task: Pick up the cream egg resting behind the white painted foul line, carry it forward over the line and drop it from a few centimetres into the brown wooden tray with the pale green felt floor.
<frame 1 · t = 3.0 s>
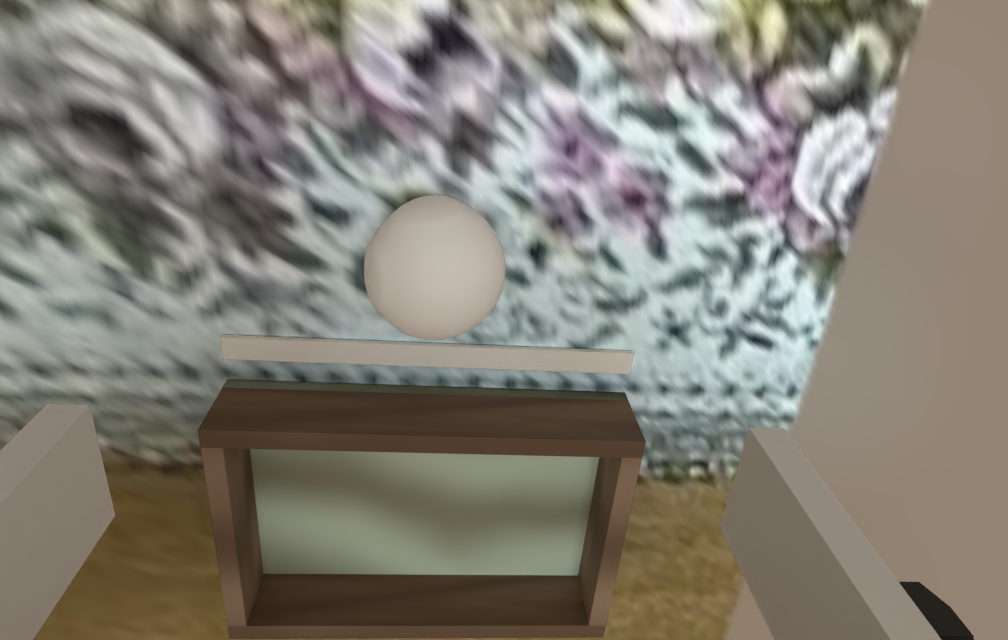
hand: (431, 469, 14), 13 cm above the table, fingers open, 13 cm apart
cream egg: (437, 242, 25), on the table
foul line: (433, 353, 27), on the table
brown wooden tray: (427, 489, 31), on the table
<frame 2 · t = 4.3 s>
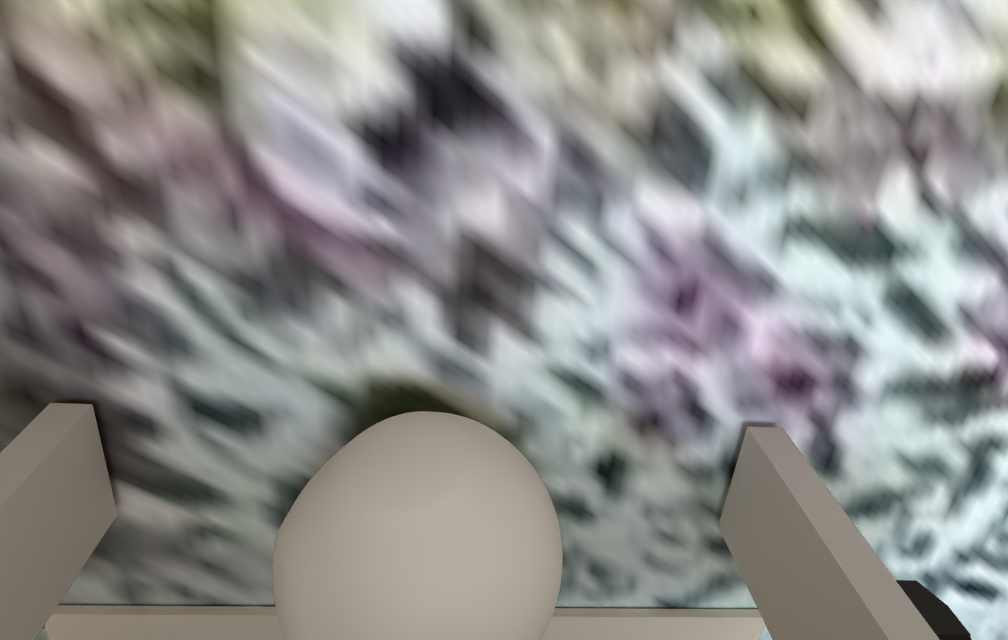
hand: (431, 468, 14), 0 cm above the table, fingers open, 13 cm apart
cream egg: (428, 454, 14), on the table
foul line: (422, 622, 16), on the table
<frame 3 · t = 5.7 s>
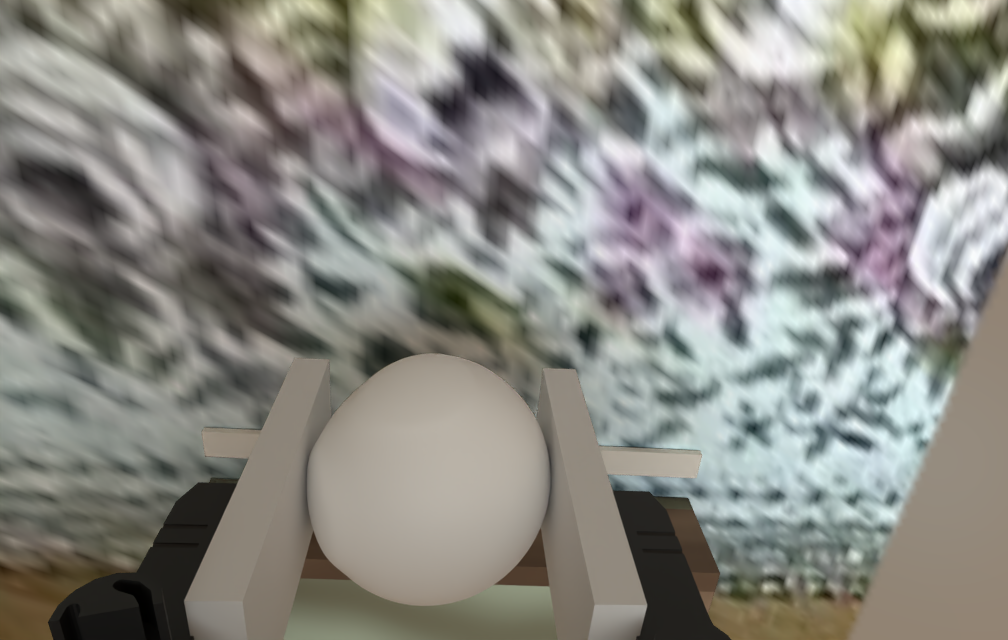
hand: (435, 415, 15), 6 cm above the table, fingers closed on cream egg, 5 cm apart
cream egg: (435, 401, 16), point 5 cm above the table, touching gripper
foul line: (457, 451, 23), on the table
brown wooden tray: (448, 602, 26), on the table
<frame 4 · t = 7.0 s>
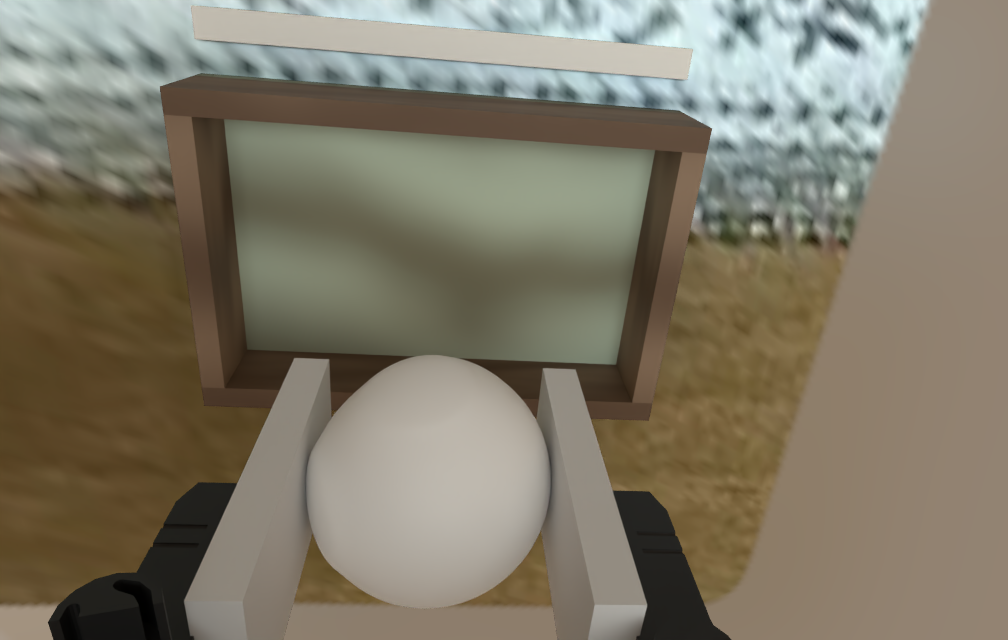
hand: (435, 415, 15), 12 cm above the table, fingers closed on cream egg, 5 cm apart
cream egg: (435, 403, 16), point 11 cm above the table, touching gripper
foul line: (450, 43, 23), on the table
brown wooden tray: (441, 242, 26), on the table
when the fingers open (3 cm above the table, at t = 8.1 s): cream egg drops 2 cm, resting on brown wooden tray.
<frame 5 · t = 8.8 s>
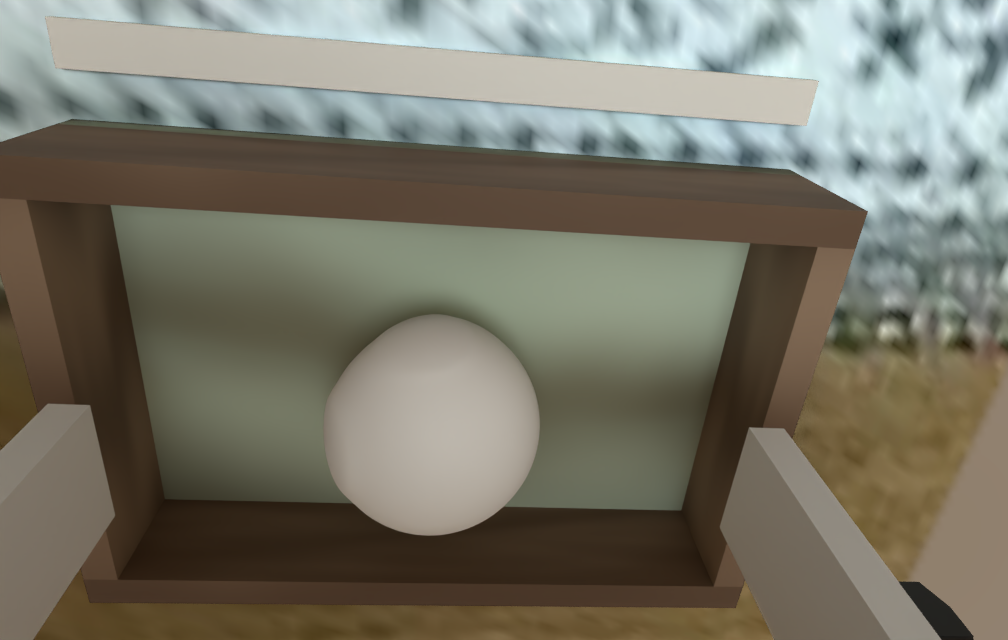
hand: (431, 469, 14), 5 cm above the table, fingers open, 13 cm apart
cream egg: (439, 362, 18), resting on brown wooden tray
foul line: (451, 73, 15), on the table
brown wooden tray: (438, 353, 18), on the table
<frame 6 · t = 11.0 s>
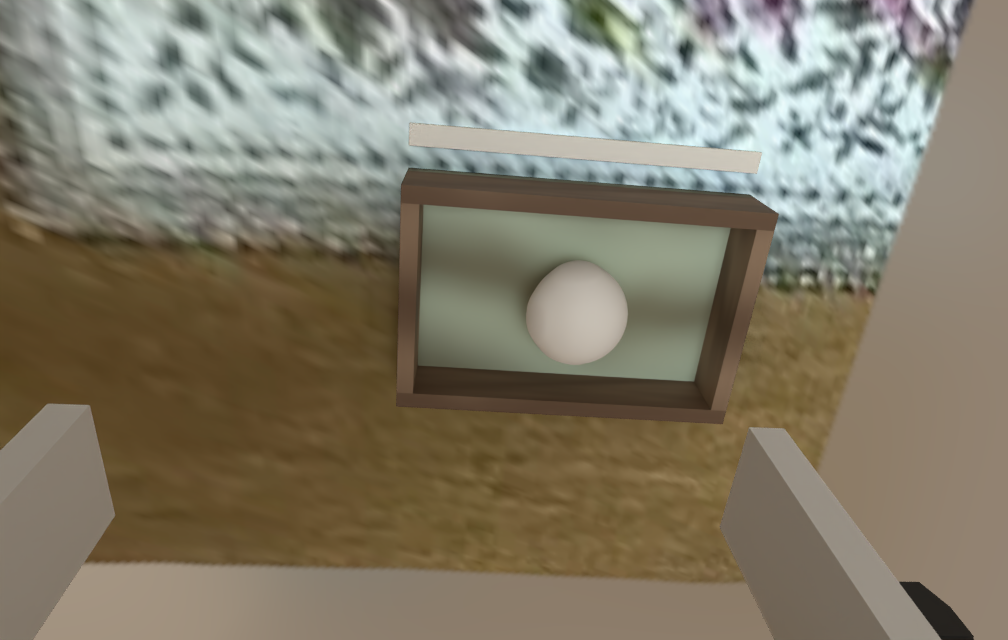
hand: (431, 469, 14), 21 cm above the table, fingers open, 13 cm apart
cream egg: (569, 291, 34), resting on brown wooden tray
foul line: (586, 148, 31), on the table
brown wooden tray: (567, 287, 34), on the table
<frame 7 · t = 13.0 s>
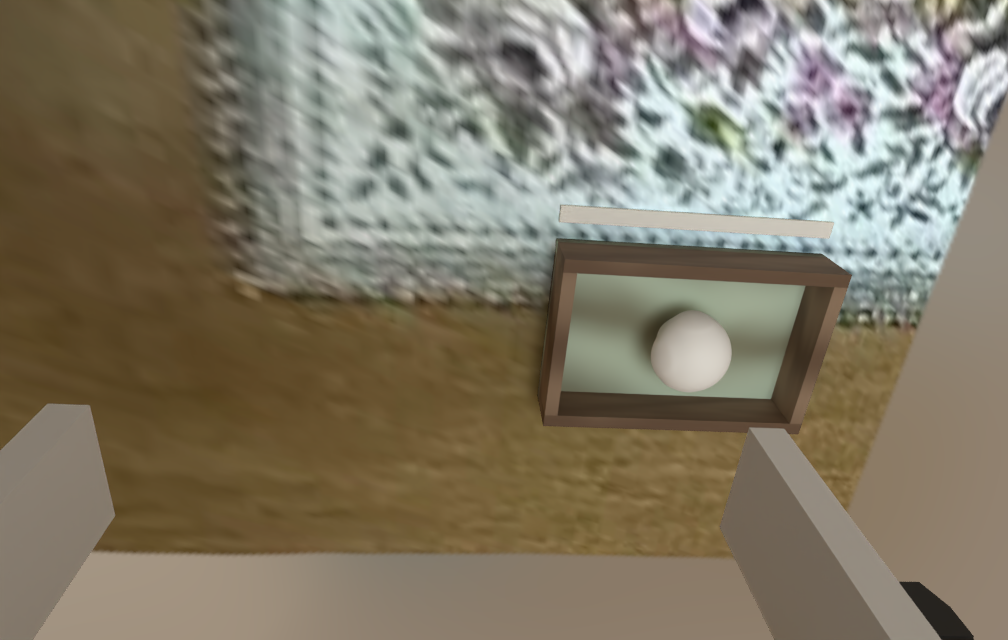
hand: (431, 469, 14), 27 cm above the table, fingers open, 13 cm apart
cream egg: (676, 330, 43), resting on brown wooden tray
foul line: (697, 221, 40), on the table
brown wooden tray: (674, 327, 43), on the table
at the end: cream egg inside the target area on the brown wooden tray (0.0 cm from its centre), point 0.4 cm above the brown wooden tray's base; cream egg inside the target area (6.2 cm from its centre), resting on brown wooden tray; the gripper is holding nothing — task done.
